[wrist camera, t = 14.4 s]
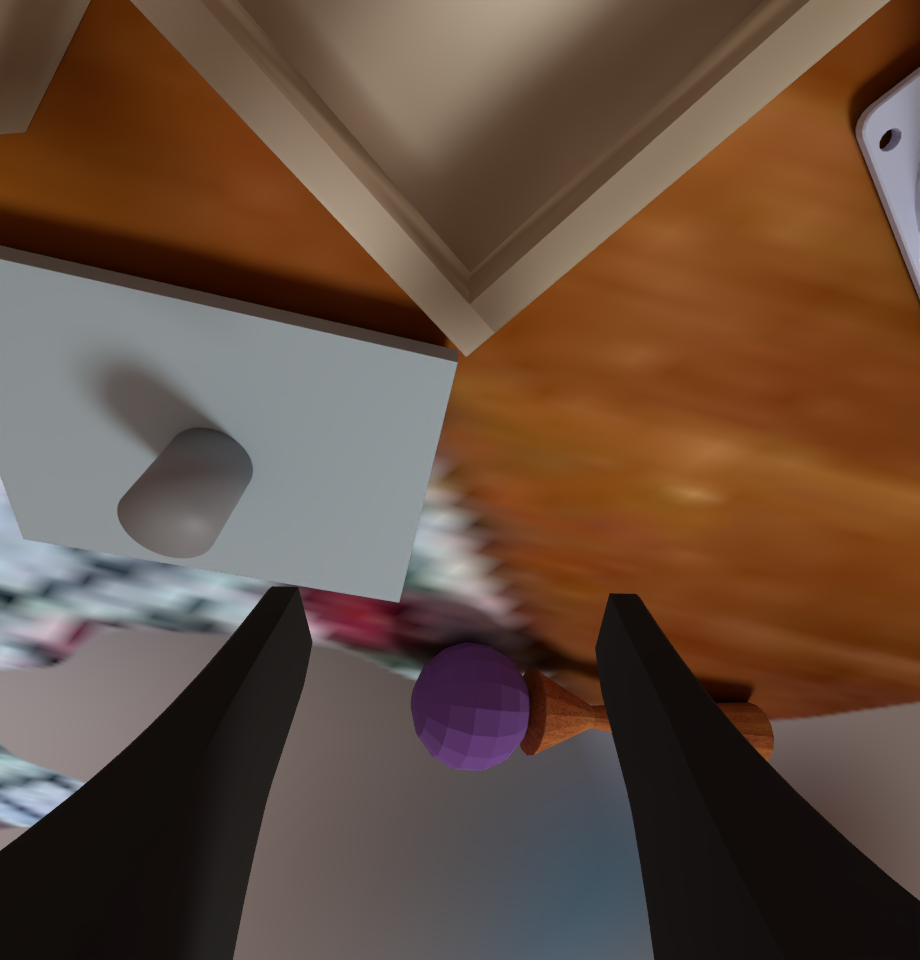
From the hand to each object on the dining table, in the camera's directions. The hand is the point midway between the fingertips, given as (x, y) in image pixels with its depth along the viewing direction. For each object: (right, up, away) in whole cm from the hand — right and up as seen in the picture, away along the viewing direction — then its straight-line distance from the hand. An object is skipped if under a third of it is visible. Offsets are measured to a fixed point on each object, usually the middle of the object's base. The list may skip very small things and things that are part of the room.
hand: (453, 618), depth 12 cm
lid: (-9, +5, +9) cm, 13 cm away
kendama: (+8, -8, +18) cm, 21 cm away
